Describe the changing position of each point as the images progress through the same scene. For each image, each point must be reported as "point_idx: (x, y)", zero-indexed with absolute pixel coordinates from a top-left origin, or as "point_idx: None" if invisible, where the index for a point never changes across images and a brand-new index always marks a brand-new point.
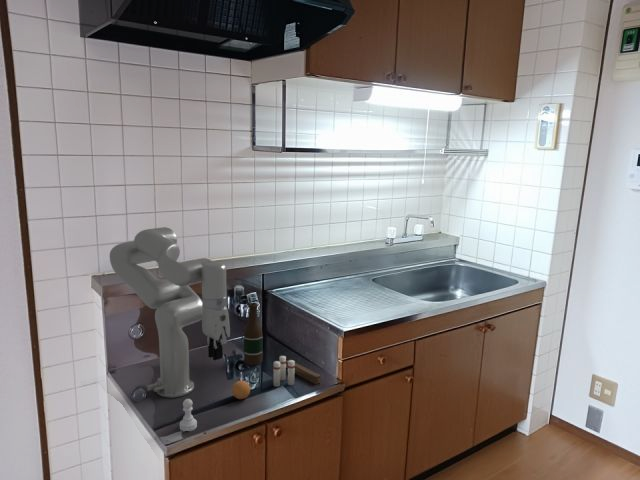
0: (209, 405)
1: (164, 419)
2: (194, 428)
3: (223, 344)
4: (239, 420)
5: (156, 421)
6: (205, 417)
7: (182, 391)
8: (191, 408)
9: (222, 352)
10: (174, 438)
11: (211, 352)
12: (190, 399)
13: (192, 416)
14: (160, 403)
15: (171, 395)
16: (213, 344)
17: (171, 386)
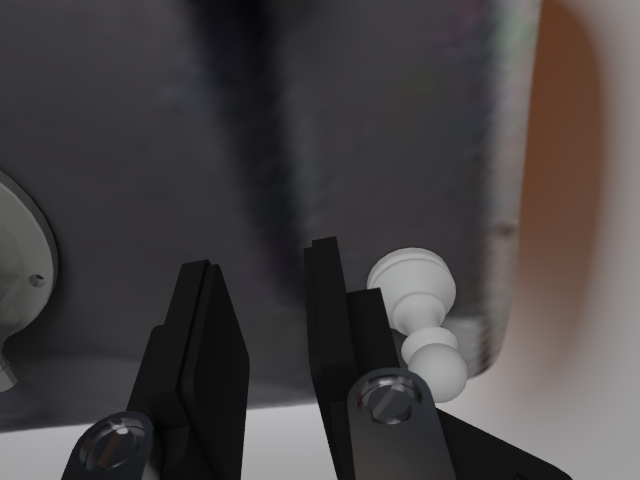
0: (236, 124)
1: (275, 349)
2: (447, 267)
3: (522, 451)
4: (518, 19)
5: (275, 377)
6: (363, 186)
7: (20, 235)
8: (450, 339)
9: (341, 280)
10: (458, 346)
11: (240, 394)
12: (441, 373)
13: (430, 299)
14: (100, 337)
15: (51, 293)
16: (201, 464)
17: (2, 314)
